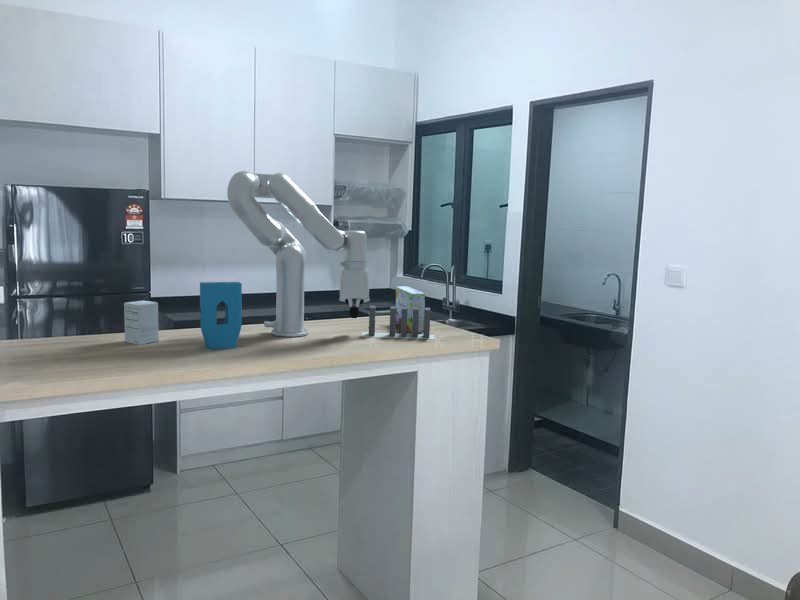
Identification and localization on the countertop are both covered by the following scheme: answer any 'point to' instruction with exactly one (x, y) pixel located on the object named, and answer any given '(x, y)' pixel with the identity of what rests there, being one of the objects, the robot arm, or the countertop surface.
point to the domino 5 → (426, 323)
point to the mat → (386, 335)
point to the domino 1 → (372, 320)
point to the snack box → (410, 305)
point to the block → (209, 299)
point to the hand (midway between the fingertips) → (354, 317)
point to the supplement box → (141, 322)
